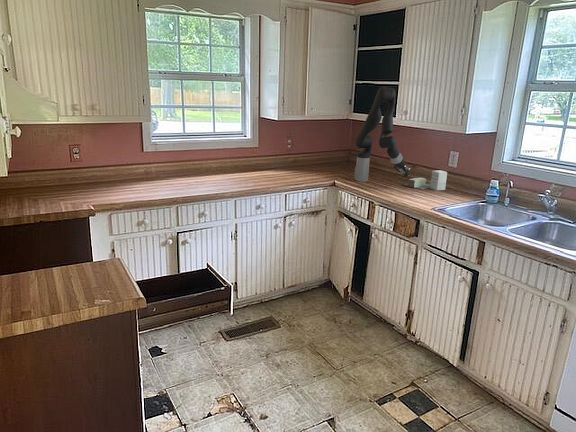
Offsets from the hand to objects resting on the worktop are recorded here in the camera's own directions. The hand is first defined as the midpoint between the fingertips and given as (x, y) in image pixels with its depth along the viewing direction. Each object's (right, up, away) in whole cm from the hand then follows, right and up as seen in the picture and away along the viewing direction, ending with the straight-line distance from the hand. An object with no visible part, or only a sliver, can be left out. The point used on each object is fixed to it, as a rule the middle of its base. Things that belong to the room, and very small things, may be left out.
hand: (406, 175), depth 304 cm
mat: (+13, -6, +13) cm, 19 cm away
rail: (+20, -5, +18) cm, 28 cm away
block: (+5, -5, +6) cm, 9 cm away
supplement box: (+23, -9, +4) cm, 25 cm away
